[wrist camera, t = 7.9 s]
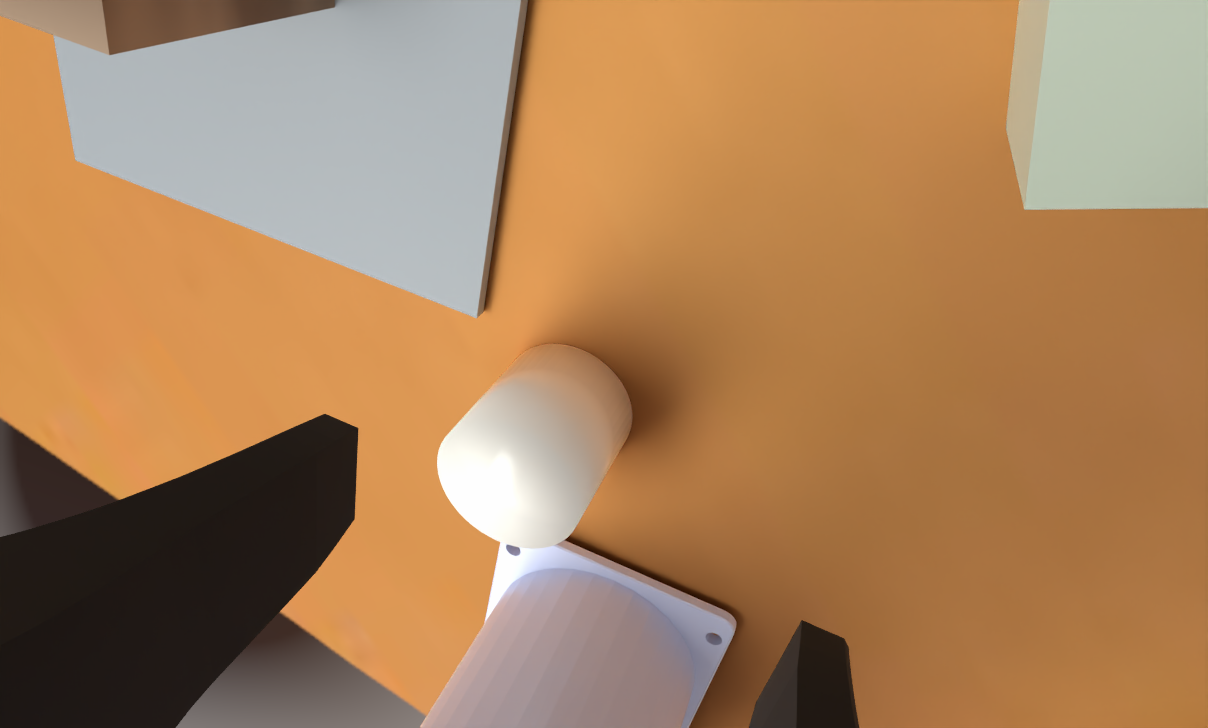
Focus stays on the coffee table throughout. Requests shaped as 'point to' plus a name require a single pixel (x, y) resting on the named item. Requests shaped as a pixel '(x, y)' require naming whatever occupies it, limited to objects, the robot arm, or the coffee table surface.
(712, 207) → the coffee table surface
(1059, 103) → the sage block
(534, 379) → the cream rounded cylinder
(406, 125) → the slate board
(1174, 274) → the coffee table surface
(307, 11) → the walnut block
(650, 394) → the coffee table surface
